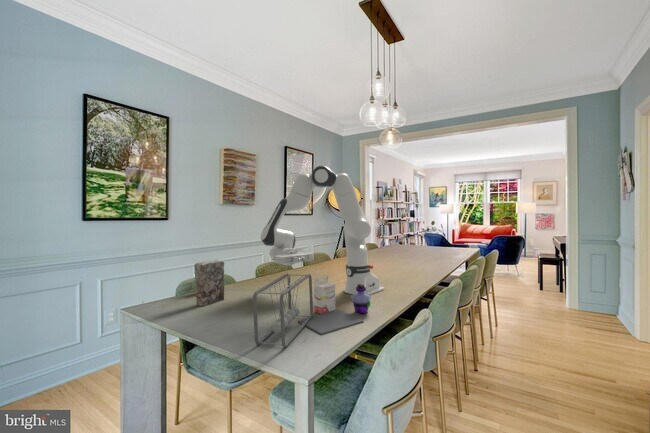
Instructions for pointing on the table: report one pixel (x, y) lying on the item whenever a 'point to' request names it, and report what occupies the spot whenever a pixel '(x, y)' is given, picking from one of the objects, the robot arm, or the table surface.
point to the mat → (331, 322)
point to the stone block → (209, 282)
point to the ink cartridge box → (324, 295)
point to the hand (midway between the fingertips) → (302, 259)
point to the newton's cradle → (283, 309)
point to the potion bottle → (361, 300)
